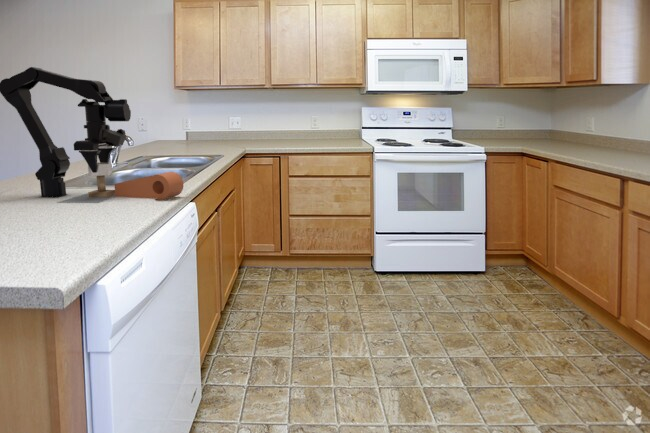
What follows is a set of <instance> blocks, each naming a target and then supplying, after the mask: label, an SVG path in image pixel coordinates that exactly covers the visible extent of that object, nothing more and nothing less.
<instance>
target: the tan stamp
mask: <svg viewBox="0 0 650 433" xmlns="http://www.w3.org/2000/svg"><path fill="white" fill-rule="evenodd" d="M96 184H97V189H95V190H92V191H88V192H87V194H88V196H89V197H109V196H112V195H115V189H106V188H107V186H106V175H102V176H96Z"/></svg>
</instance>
